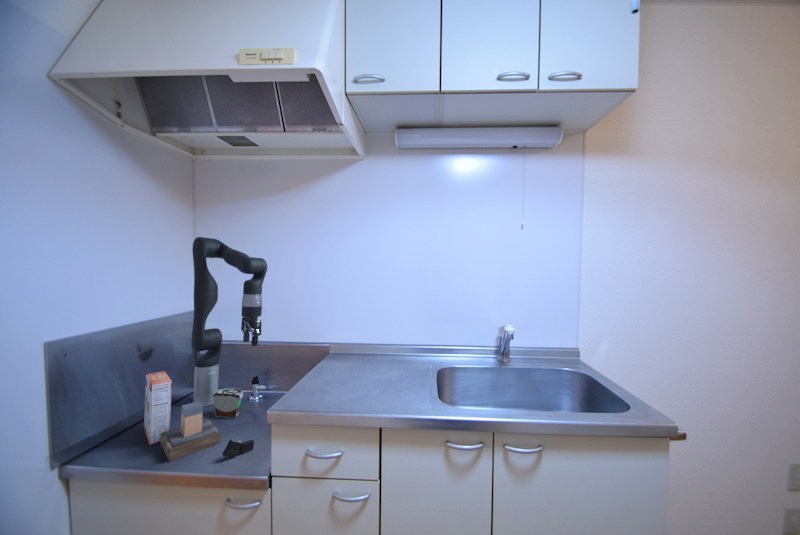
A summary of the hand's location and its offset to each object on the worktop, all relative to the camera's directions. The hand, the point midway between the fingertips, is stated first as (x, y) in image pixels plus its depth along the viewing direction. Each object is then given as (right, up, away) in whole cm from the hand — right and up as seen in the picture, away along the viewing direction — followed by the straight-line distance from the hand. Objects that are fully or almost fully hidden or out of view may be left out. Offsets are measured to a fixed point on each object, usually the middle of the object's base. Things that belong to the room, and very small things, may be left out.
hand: (250, 343), depth 121 cm
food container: (-9, -30, +1) cm, 31 cm away
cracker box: (-26, -29, -16) cm, 42 cm away
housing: (-10, -25, -20) cm, 34 cm away
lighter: (+9, -30, -26) cm, 41 cm away
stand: (-10, -29, -21) cm, 37 cm away
